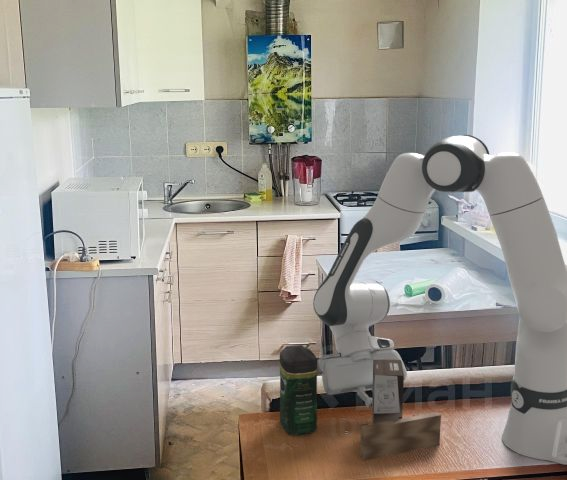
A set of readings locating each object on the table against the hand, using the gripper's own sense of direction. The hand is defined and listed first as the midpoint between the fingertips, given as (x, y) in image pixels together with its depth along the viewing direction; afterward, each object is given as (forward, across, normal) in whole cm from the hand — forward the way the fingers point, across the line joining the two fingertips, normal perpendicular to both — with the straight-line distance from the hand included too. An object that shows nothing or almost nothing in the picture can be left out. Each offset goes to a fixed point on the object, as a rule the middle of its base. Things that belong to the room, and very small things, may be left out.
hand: (373, 406), depth 156 cm
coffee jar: (0, -17, +6) cm, 18 cm away
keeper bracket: (+11, 0, -5) cm, 12 cm away
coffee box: (+7, 0, -1) cm, 7 cm away
